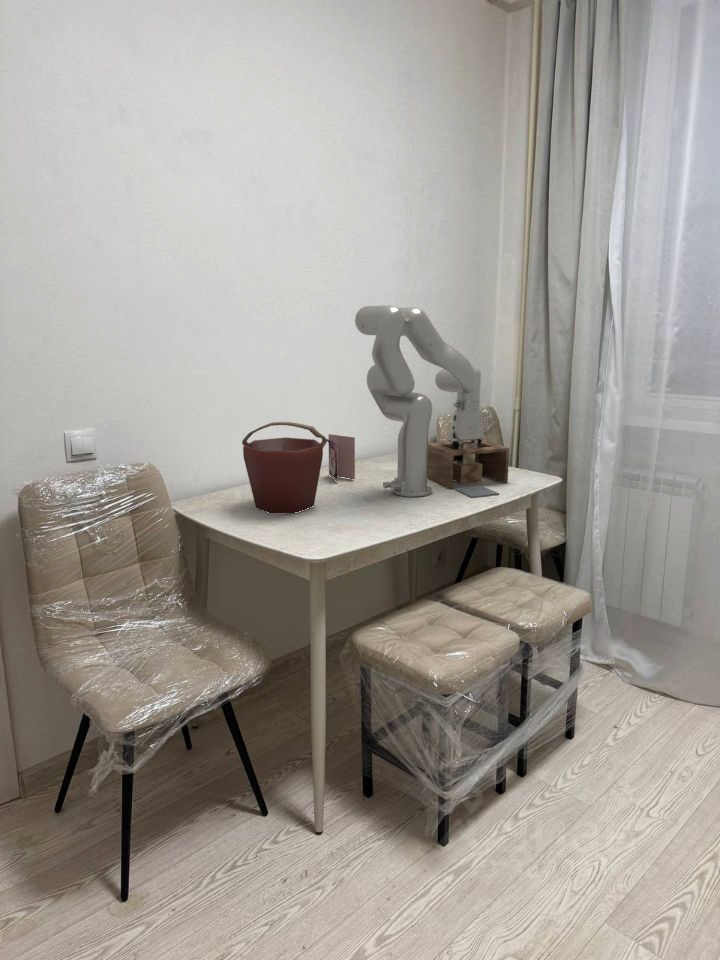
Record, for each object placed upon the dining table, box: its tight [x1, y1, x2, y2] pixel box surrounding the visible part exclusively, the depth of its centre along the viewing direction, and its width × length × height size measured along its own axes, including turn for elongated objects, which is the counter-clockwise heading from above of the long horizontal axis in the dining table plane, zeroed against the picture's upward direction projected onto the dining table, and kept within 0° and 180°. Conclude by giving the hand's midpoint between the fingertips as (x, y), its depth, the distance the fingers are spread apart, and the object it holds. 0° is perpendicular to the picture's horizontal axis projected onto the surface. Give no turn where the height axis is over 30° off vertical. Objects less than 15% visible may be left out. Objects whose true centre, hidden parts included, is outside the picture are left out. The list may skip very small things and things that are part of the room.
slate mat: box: [455, 485, 500, 499], centre depth 212 cm, size 10×10×1 cm
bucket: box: [241, 421, 329, 514], centre depth 193 cm, size 24×22×25 cm
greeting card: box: [326, 433, 356, 483], centre depth 228 cm, size 11×7×15 cm, turn 18°
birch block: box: [457, 441, 476, 465], centre depth 225 cm, size 4×4×7 cm
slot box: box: [427, 439, 510, 490], centre depth 226 cm, size 22×18×12 cm
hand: (465, 458), depth 226 cm, fingers closed on birch block, 4 cm apart
